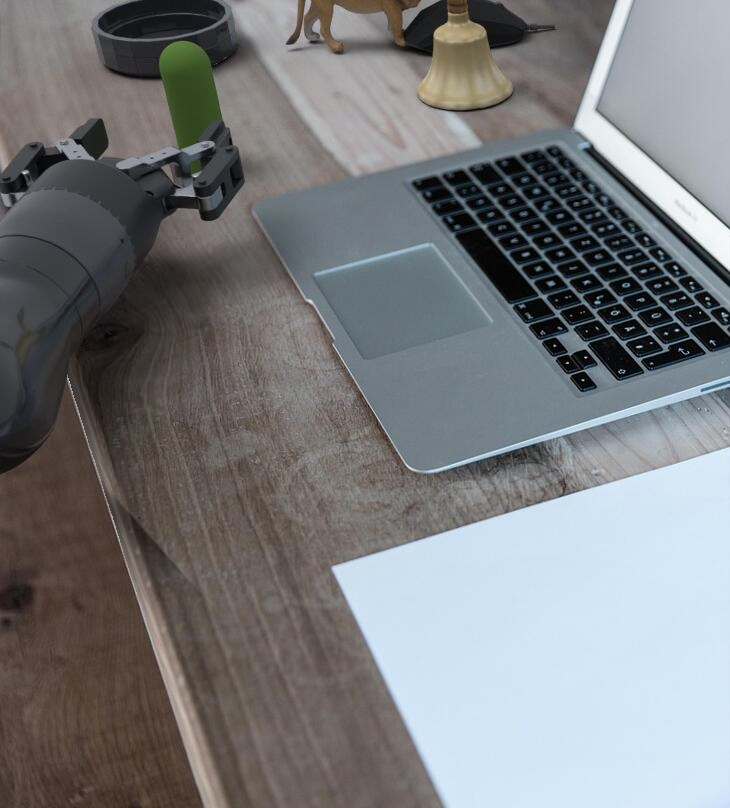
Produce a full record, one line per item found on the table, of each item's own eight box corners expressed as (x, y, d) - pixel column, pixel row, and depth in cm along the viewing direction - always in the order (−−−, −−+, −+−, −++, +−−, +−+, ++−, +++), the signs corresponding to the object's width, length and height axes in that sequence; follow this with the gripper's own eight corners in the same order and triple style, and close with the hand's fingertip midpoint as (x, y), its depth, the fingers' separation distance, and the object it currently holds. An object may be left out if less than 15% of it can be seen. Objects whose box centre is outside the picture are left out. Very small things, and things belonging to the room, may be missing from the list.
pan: (100, 86, 105) (89, 47, 103) (102, 38, 115) (92, 1, 113) (243, 70, 109) (236, 31, 106) (234, 24, 118) (227, -12, 116)
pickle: (184, 179, 91) (154, 54, 86) (182, 159, 94) (153, 36, 88) (233, 173, 92) (207, 48, 86) (230, 153, 95) (204, 31, 89)
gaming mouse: (565, 39, 115) (563, -3, 112) (411, 60, 110) (407, 17, 108) (544, 17, 119) (542, -23, 117) (396, 37, 115) (391, -5, 113)
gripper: (173, 194, 69) (252, 81, 82) (-72, 189, 69) (45, 78, 82) (201, 304, 74) (271, 182, 87) (-30, 299, 74) (75, 178, 87)
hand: (161, 131), depth 84 cm, fingers open, 8 cm apart
